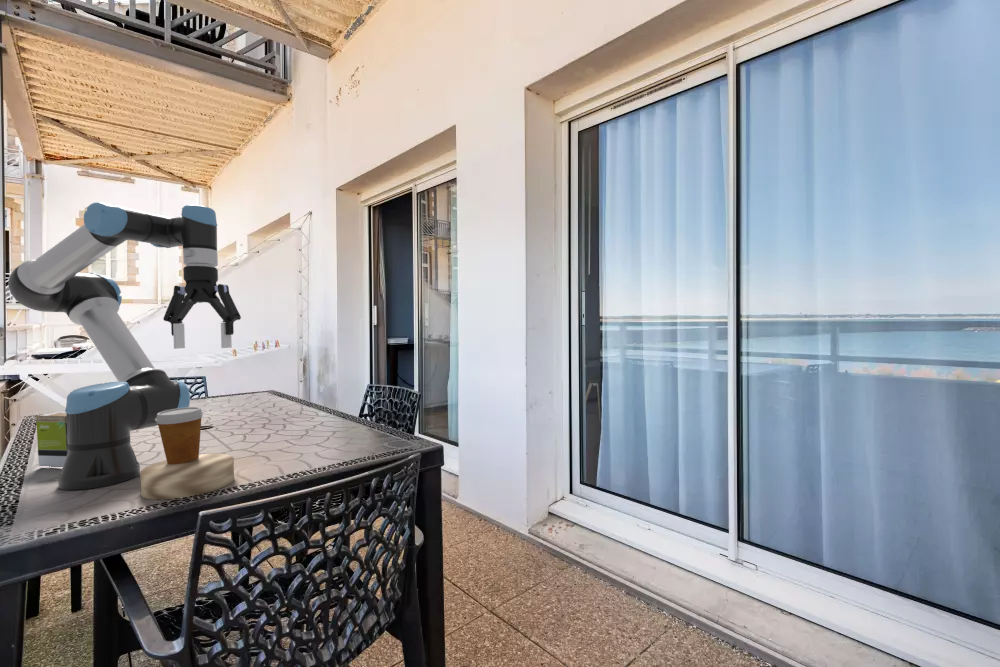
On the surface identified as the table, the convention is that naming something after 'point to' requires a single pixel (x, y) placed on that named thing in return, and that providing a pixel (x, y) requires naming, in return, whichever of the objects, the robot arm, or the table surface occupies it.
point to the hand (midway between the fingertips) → (202, 348)
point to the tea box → (52, 439)
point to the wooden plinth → (187, 477)
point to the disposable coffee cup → (180, 433)
